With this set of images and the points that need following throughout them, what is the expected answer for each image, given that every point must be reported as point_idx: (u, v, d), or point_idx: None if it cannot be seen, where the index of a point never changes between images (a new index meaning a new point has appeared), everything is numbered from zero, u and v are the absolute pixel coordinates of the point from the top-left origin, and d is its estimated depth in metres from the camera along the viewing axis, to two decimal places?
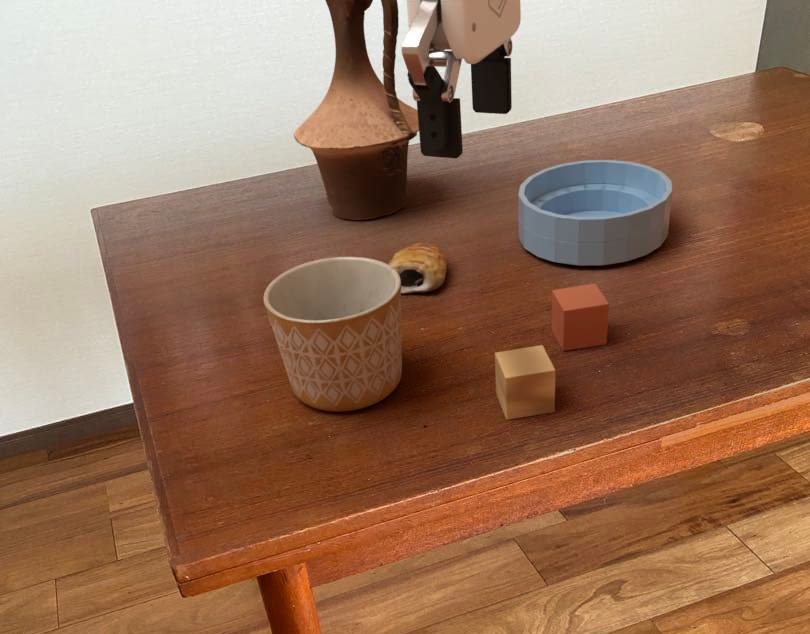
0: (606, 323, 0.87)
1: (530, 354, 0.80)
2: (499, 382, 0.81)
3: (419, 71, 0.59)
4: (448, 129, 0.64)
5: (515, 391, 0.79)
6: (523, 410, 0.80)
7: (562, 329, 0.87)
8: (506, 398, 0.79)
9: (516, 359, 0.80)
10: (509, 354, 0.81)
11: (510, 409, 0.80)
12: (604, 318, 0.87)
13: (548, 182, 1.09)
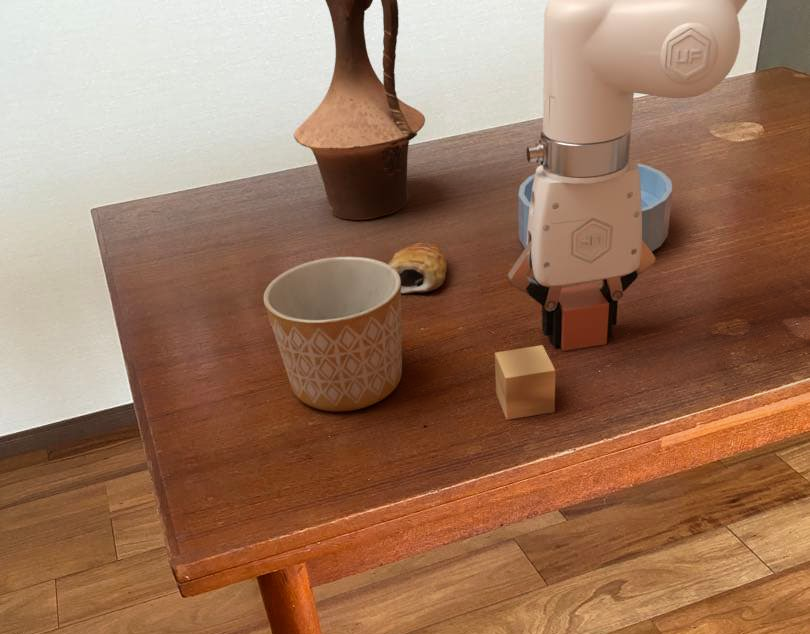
0: (606, 323, 0.87)
1: (530, 354, 0.80)
2: (499, 382, 0.81)
3: None
4: (552, 326, 0.88)
5: (515, 391, 0.79)
6: (523, 410, 0.80)
7: (562, 329, 0.87)
8: (506, 398, 0.79)
9: (516, 359, 0.80)
10: (509, 354, 0.81)
11: (510, 409, 0.80)
12: (604, 318, 0.87)
13: None
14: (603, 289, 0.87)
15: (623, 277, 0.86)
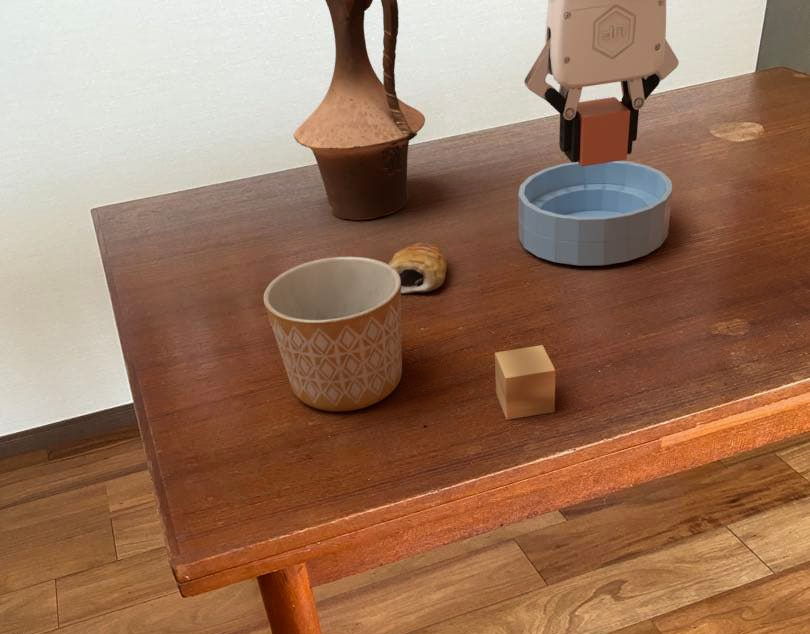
0: (627, 134, 0.84)
1: (530, 354, 0.80)
2: (499, 382, 0.81)
3: None
4: (570, 139, 0.85)
5: (515, 391, 0.79)
6: (523, 410, 0.80)
7: (581, 141, 0.84)
8: (506, 398, 0.79)
9: (516, 359, 0.80)
10: (509, 354, 0.81)
11: (510, 409, 0.80)
12: (624, 127, 0.83)
13: (548, 182, 1.09)
14: (623, 99, 0.84)
15: (645, 83, 0.82)
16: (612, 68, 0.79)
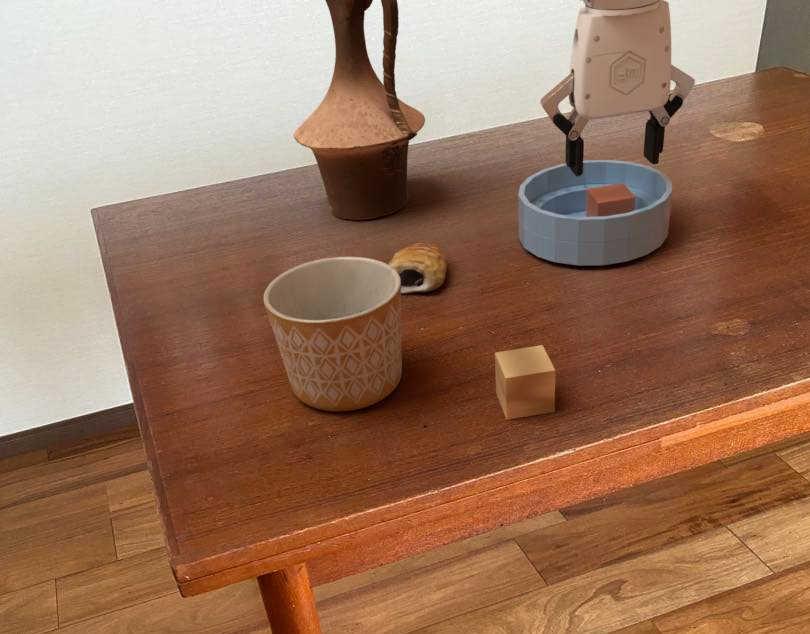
0: None
1: (530, 354, 0.80)
2: (499, 382, 0.81)
3: (549, 116, 0.96)
4: (575, 156, 0.99)
5: (515, 391, 0.79)
6: (523, 410, 0.80)
7: None
8: (506, 398, 0.79)
9: (516, 359, 0.80)
10: (509, 354, 0.81)
11: (510, 409, 0.80)
12: (631, 210, 1.03)
13: (548, 182, 1.09)
14: (652, 118, 0.99)
15: (670, 106, 0.97)
16: (626, 103, 0.94)
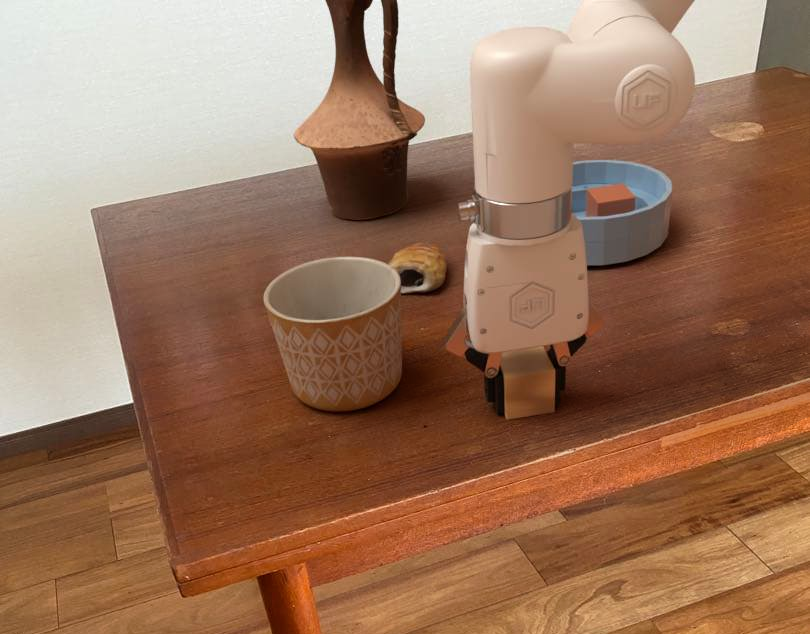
0: None
1: (530, 354, 0.80)
2: None
3: None
4: (494, 392, 0.80)
5: (515, 391, 0.79)
6: (523, 410, 0.80)
7: None
8: (506, 398, 0.79)
9: (516, 359, 0.80)
10: (509, 354, 0.81)
11: (510, 409, 0.80)
12: (631, 210, 1.03)
13: None
14: (550, 353, 0.80)
15: (571, 341, 0.78)
16: (532, 336, 0.75)
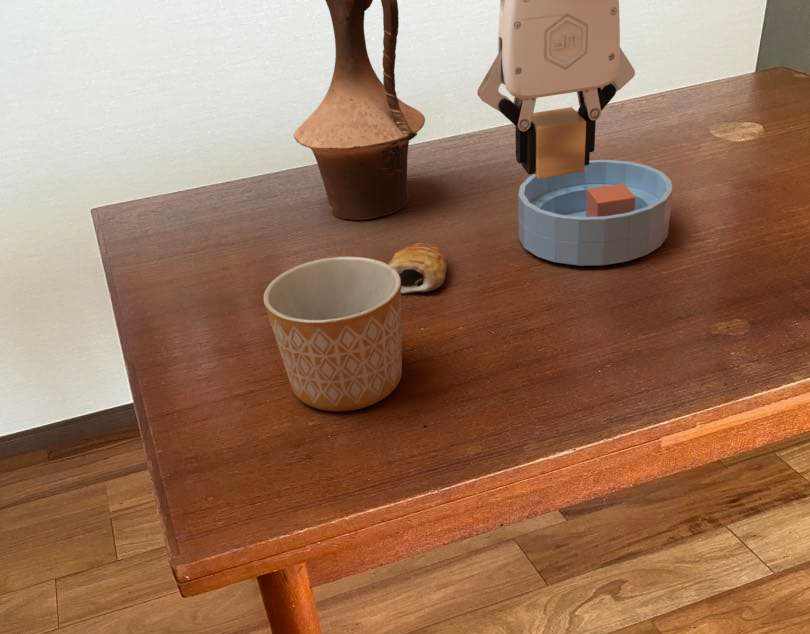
0: None
1: (560, 113, 0.83)
2: None
3: (493, 107, 0.80)
4: (526, 150, 0.83)
5: (547, 145, 0.81)
6: (554, 168, 0.83)
7: None
8: (538, 153, 0.82)
9: (547, 117, 0.82)
10: (540, 114, 0.83)
11: (542, 166, 0.82)
12: (631, 210, 1.03)
13: (548, 182, 1.09)
14: (580, 110, 0.82)
15: (601, 93, 0.80)
16: (565, 78, 0.77)
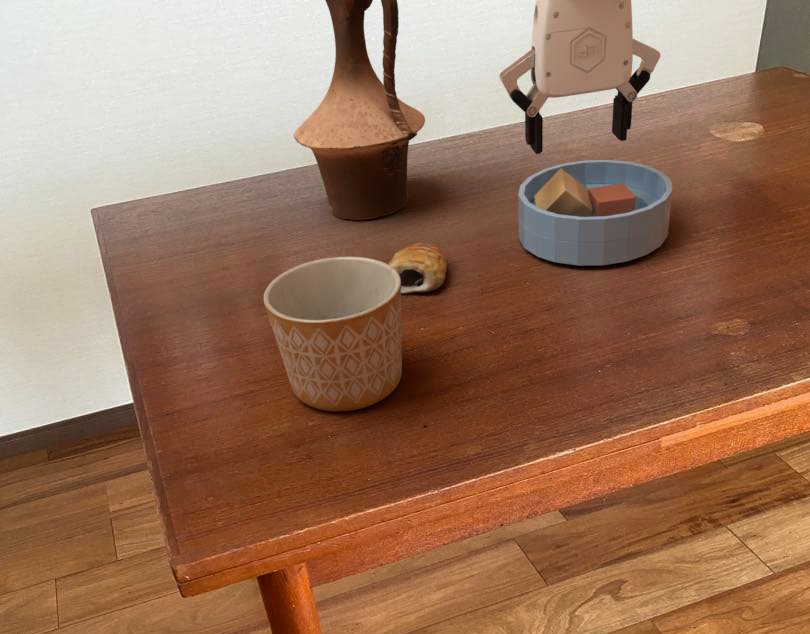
0: None
1: (553, 183, 1.03)
2: None
3: (507, 91, 0.95)
4: (534, 134, 0.98)
5: None
6: None
7: None
8: None
9: (545, 194, 1.03)
10: (541, 191, 1.04)
11: None
12: (631, 210, 1.03)
13: None
14: (619, 93, 0.97)
15: (638, 82, 0.96)
16: (587, 81, 0.93)
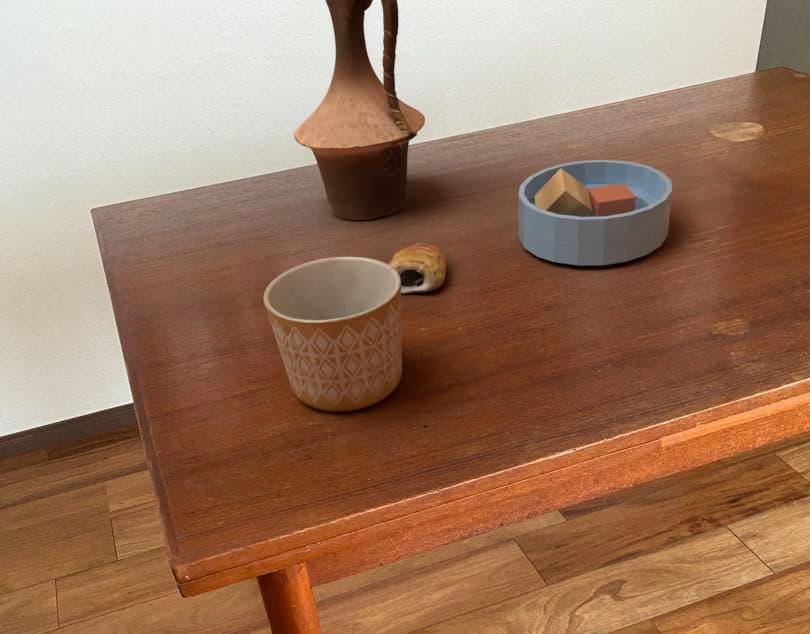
0: None
1: (553, 183, 1.03)
2: None
3: None
4: None
5: None
6: None
7: None
8: None
9: (545, 194, 1.03)
10: (541, 191, 1.04)
11: None
12: (631, 210, 1.03)
13: None
14: None
15: None
16: None
